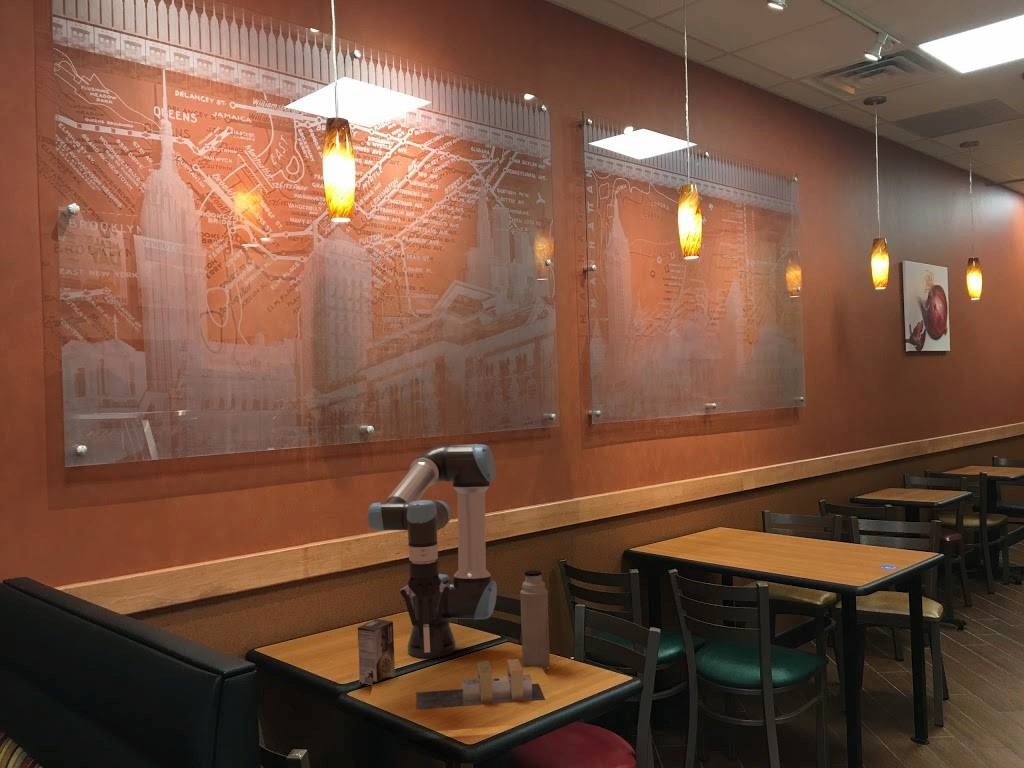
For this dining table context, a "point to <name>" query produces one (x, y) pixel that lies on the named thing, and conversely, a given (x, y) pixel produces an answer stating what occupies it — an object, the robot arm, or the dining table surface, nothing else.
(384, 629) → the coffee box
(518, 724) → the dining table surface
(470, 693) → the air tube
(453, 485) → the robot arm
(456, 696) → the collar stand
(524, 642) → the thermos bottle
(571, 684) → the dining table surface
